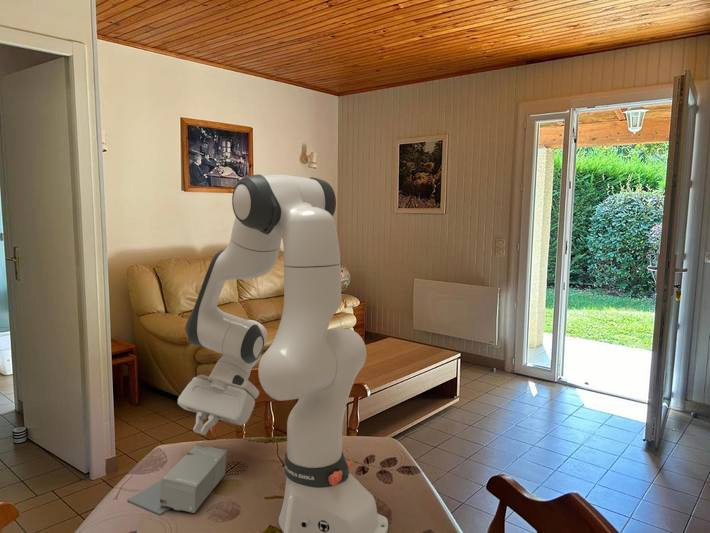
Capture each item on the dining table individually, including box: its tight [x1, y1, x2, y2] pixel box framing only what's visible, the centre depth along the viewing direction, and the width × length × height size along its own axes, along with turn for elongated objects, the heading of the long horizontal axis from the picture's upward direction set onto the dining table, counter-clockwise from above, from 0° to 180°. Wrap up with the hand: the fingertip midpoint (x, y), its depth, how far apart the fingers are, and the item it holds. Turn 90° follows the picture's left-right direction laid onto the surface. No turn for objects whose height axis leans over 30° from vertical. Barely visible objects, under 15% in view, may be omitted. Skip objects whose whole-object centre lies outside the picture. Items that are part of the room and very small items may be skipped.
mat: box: [126, 479, 172, 516], centre depth 117 cm, size 10×15×1 cm, turn 151°
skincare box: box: [160, 444, 228, 514], centre depth 116 cm, size 8×7×16 cm
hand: (198, 433), depth 123 cm, fingers closed
